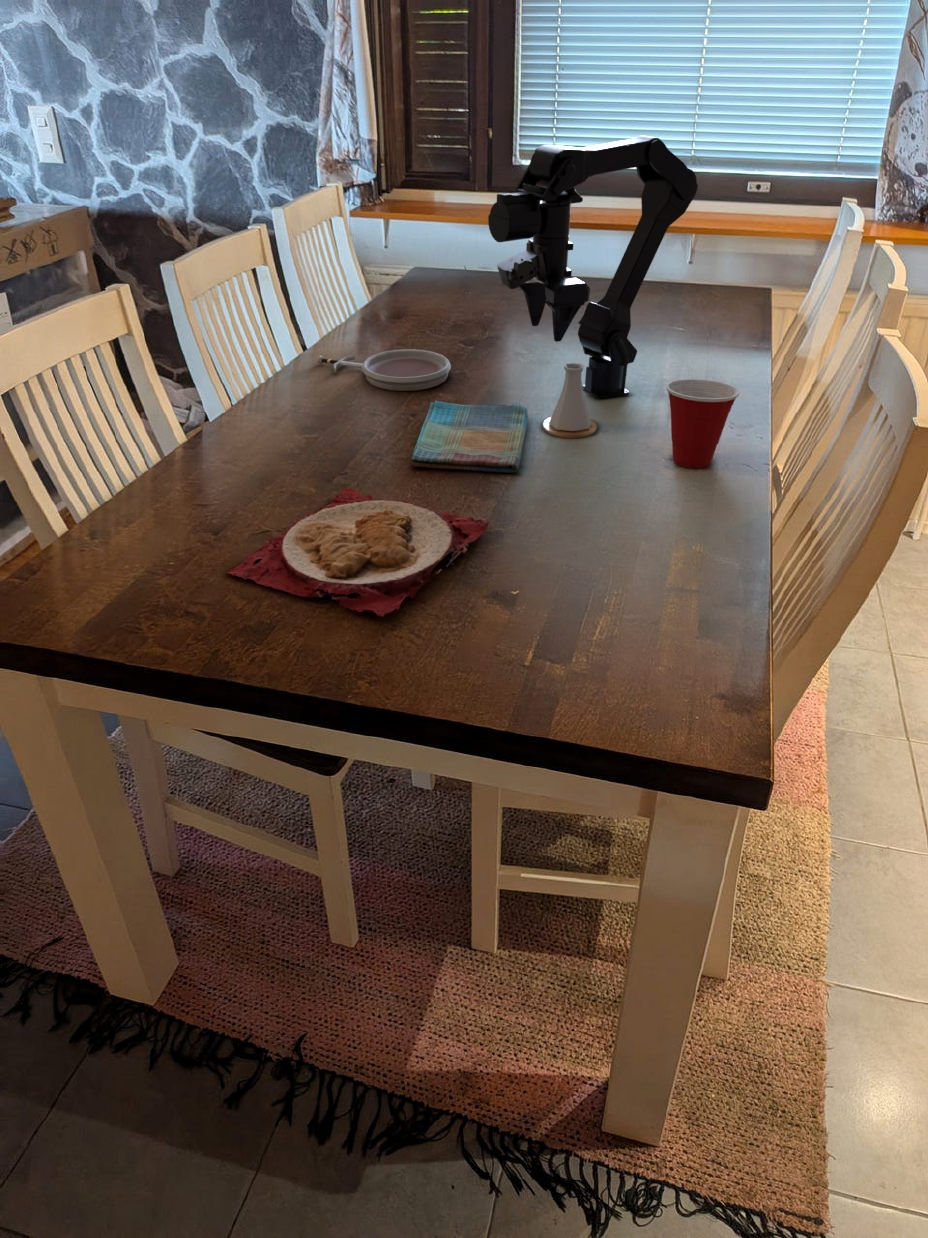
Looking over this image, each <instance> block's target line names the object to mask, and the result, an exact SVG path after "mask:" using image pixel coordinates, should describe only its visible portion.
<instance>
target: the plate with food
mask: <svg viewBox="0 0 928 1238" xmlns="http://www.w3.org/2000/svg"><path fill="white" fill-rule="evenodd" d="M332 501H333V502H331V503H329V504H327V505H326V506H325V507H322V508H321V509H320V510H317V511H316V512H315V511H314V512H310V513H308V514H307V515H305V516H303V517H301V518H298V520H296V519H295V520H293V524H292V525H291V526H290V527H288V528H287V529H285V531H284V532H282V533H281V534H280V535H278V536H276V537H275V539H273V540H270V541H269V542H268V543H265V544H264V545H262V546H261V547H260V549H259V550H258V551H256V552H254V553H253V554H250V555H247V556H246V558H245V559H244V560H243V561H241V563H240V564H239V565H238V566H235V567H234V568H232V569H229V570H228V571H226V572H227V573H228V574H231V576H232V577H235V576H237V577H238V578H242V579H243V580H245V581H246V580H249V579H250V580H253V581H254V582H255V584H257V585H262V586H264V587H269V588H271V589H274V590H279V591H283V592H286V593H289V594H291V595H296V596H297V597H303V598H309V599H311V598H323V597H324V596H326V595H327V594H328V595H331V594H333V595H332V596H331V600H334V601H339V607H340V608H343V607H344V608H345V609H349V610H350V611H357V612H358V613H361V612H365V611H366V612H367V613H375V614H376V616H377V617H378V618H380V617H385V616H386V615H387V614H391V613H392V612H393V611H394V610H399V609H400V607H401V604H402V602H403V601H404V599H405V598H406V597H407V598H411V599H414V597H415V596H417V593H418V591H419V590H420V589H421V588H422V587H423V586H425V585H426V584H427V583H429V581H430V580H431V579H432V578H433V577H434V576H435V575H437V574H438V575H439V574H440V572H442V571H443V569H442V568H439V569H436V570H434V568H436V566H437V565H438V564H439V563H440V561H442V560H443V559H445V557H447V560H448V563H447V564H445V567H448V566H449V565H451V564H452V565H454V564H455V563H454V560H455V559H456V558H458V556H461V555H462V554H466V552H468V548H469V547H470V546H469V545H471V543H473V542H475V541H476V540H477V539H478V538H479V537H480V536H481V535H483V533H484V532H485V531H486V529H488V527H489V524H490V522H489V521H488V519H487V520H486V521H483V520H482V518H479V519H474V517H472V516H469V517H463V516H461V515H460V516H458V515H457V514H455V513H453V514H450V512H449V511H446V512H445V513H443V512H441V511H440V510H436V509H434V508H429V507H428V506H425V505H424V506H419V505H417V504H414V503H413V502H412V501H411V500H410V499H408V500H401V501H400V500H398V499H396V500H393V499H383V498H380V499H379V498H374V497H373V496H371V495H370V494H368V495H366V496H363V495H362V494H361V492H360V491H358V490H357V491H356V490H354V489H352V488H343V489H342V490H341V492H340V494H335V497H334V498H333V499H332ZM257 560H260V561H258V562H257V563H255V562H256V561H257ZM433 570H434V571H433ZM432 571H433V572H432ZM351 594H357V595H355V597H353V598H351V597H349V596H348V595H351Z"/></svg>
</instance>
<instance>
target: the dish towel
mask: <svg viewBox="0 0 928 1238" xmlns="http://www.w3.org/2000/svg"><path fill="white" fill-rule="evenodd" d="M528 414H529V412H528V408H527V407H526V406H525V405H524V404H521V403H505V404H457V403H449V402H444V401H439V400H435V401H434V402H433V401H432V402H430V404H429V409H428V412H427V414H426V416H425V419H424V421H423V423H422V424H423V425H422V427H421V430H420V432H419V435H418V438H417V441H416V444H415V446H414V449H413V452H412V455H411V457H410V459H411V461H410V462H411V467H414V468H432V469H446V470H460V471H461V470H462V471H475V472H486V473H489V472H490V473H505V474H516V473H518V472H519V469H520V465H521V460H522V453H523V448H524V443H525V436H526V432H527V429H528V421H529V415H528Z"/></svg>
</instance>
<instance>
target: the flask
mask: <svg viewBox="0 0 928 1238" xmlns="http://www.w3.org/2000/svg"><path fill="white" fill-rule="evenodd" d="M584 367H585V365H584V364H582V363H580V362H579V363H578V362H568V363H565V364H564V366H563V370H565V375H564V381H563V386H562V390H561V392H560V394H559V397H558V400H557V403H556V405H555V407H554V410H553V411H552V414H551V416H550V417H551V419H550V422H549V424H550V425H552V426H553V427H554V428H555V429H557V430H567V431H578V430H583V429H589V428H590V425H591V420H592V418H591V415H590V411H589V408H588V405H587V402H586V398H585V394H584V390H583V389H584V388H583V382H582V372H583V370H584Z"/></svg>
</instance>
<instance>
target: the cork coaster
mask: <svg viewBox="0 0 928 1238" xmlns="http://www.w3.org/2000/svg"><path fill="white" fill-rule="evenodd" d="M551 417H552V416H550V417H547V418H546V419H544V420H543V422H542V428H543V430H544V432H546V433H547V434H549V435H552V436H555V437H559V438H566V439H567V438H568V439H576V438H585V437H588V436H591V435H593V434H595V433H596V431H597V427H598V425H597V423H596V422H595V420H593V419H591V425H590V428H589V429H583V430H578V431H567V430H557V429H555V428H554V427H553V426H552V425H550V424H549V422H550V419H551Z"/></svg>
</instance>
